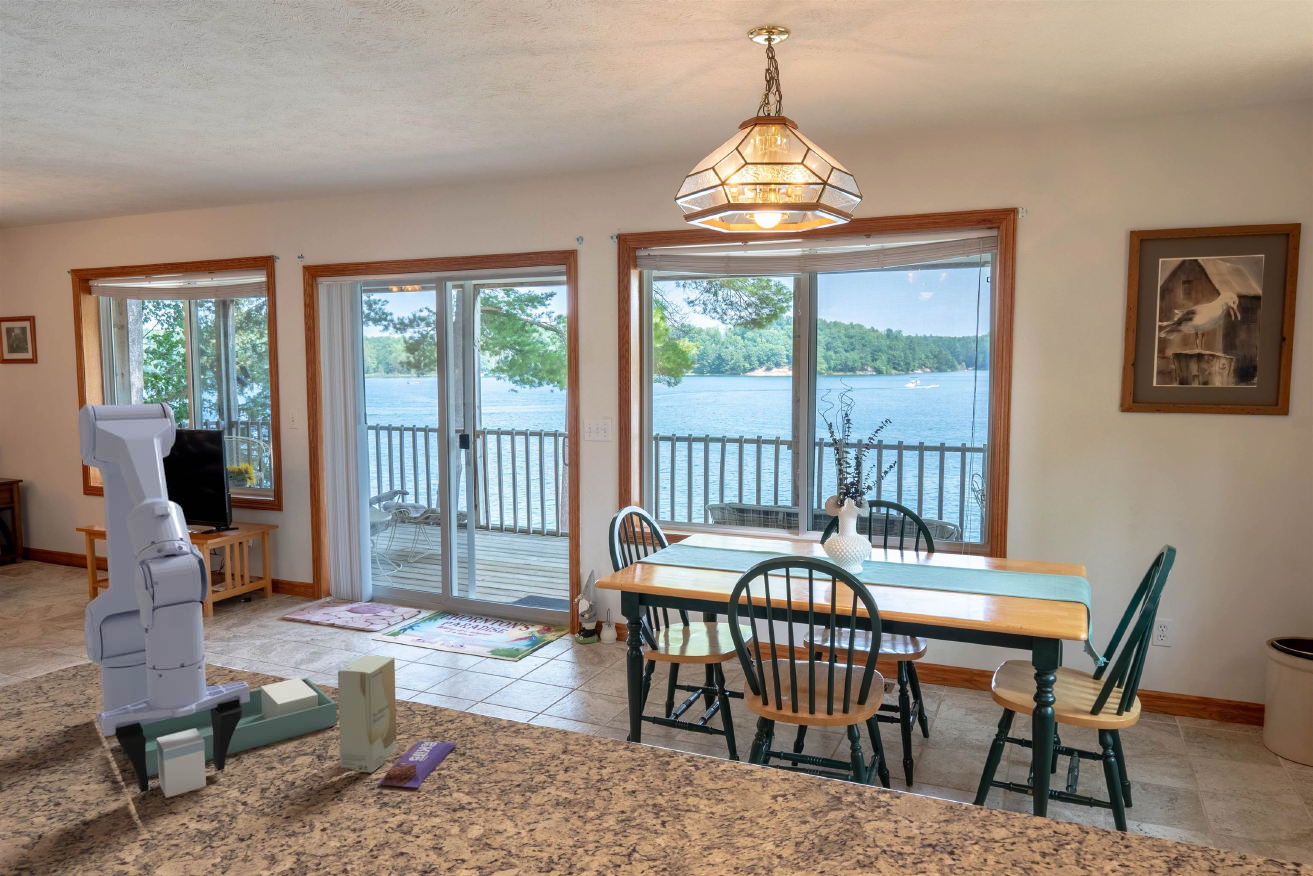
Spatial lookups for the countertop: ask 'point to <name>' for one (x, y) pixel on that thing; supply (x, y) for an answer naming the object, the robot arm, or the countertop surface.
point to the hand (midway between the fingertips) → (182, 777)
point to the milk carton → (181, 762)
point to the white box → (287, 698)
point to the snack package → (417, 764)
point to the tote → (244, 726)
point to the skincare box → (367, 713)
